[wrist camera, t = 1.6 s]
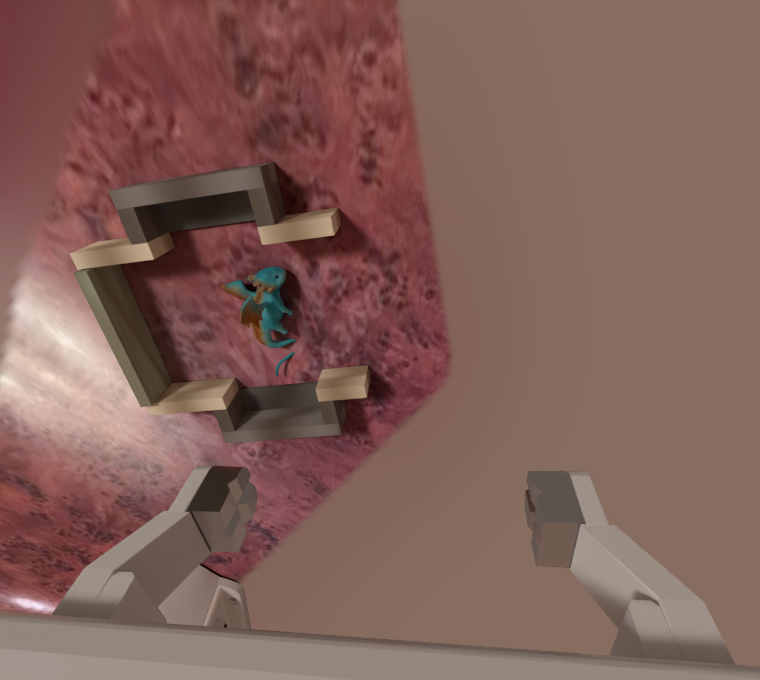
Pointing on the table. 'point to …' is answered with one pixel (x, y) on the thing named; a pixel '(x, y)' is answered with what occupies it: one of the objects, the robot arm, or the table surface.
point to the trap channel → (152, 239)
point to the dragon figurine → (263, 306)
